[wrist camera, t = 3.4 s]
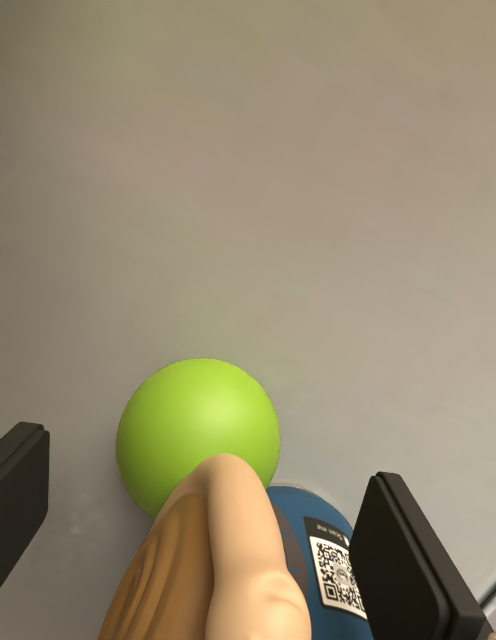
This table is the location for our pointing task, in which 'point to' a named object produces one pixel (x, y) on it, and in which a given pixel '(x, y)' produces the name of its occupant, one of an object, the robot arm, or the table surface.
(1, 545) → the robot arm
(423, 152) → the table surface
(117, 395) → the table surface
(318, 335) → the table surface
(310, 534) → the soda can
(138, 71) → the table surface
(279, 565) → the snail figurine
